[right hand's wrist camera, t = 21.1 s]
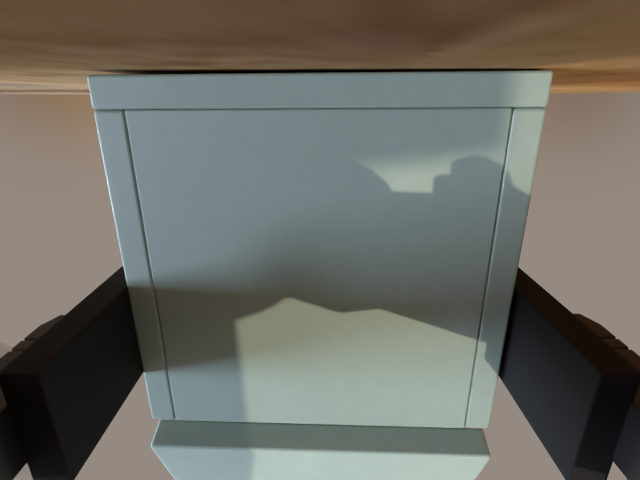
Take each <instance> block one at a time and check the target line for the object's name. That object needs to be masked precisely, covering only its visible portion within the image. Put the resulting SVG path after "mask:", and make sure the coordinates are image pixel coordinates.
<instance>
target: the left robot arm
mask: <svg viewBox="0 0 640 480" xmlns="http://www.w3.org/2000/svg"><path fill="white" fill-rule="evenodd" d="M13 347H14V346H11V345H9V344H6V343H4V342H1V341H0V358H1V357H2V356H4V355H5V354H6V353H7V352H8V351H12V348H13ZM13 480H33V478H32V475H31V472H30V469H29V467H28V465H27V463H26V464H25V466H24V467H23V468H22V469H21V471H20V472H19V473H18V474H17V476H16V477H15V478H14V479H13Z"/></svg>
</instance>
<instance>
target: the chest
mask: <svg viewBox="0 0 640 480" xmlns="http://www.w3.org/2000/svg"><path fill="white" fill-rule="evenodd" d="M552 77H553V72H552V71H550V70H536V71H432V72H327V73H222V74H117V75H89V76H87V81H88V86H89V91H90V96H91V101H92V106H93V108H94V109H96V111H95V112H94V116H95V121H96V126H97V131H98V137H99V142H100V147H101V152H102V158H103V163H104V168H105V173H106V178H107V184H108V189H109V194H110V199H111V205H112V210H113V215H114V220H115V225H116V231H117V236H118V241H119V246H120V252H121V257H122V262H123V267H124V272H125V278H126V283H127V287H128V293H129V298H130V303H131V309H132V314H133V319H134V325H135V330H136V335H137V340H138V346H139V351H140V356H141V361H142V366H143V372H144V377H145V382H146V387H147V392H148V398H149V403H150V408H151V413H152V418H153V419H175V418H176V420H192V421H228V422H264V423H300V424H336V425H371V426H407V427H443V428H464V425H465V427H468V428H488V427H489V426H490V420H491V415H492V409H493V403H494V398H495V392H496V387H497V381H498V376H499V370H500V365H501V359H502V353H503V348H504V342H505V337H506V331H507V326H508V320H509V314H510V309H511V303H512V298H513V292H514V287H515V281H516V275H517V270H518V264H519V259H520V253H521V247H522V242H523V236H524V231H525V225H526V220H527V214H528V209H529V203H530V197H531V192H532V186H533V181H534V175H535V170H536V164H537V158H538V153H539V147H540V142H541V136H542V131H543V125H544V119H545V114H546V110H545V109H544V108H542V107H546V106H547V104H548V99H549V94H550V88H551V82H552Z"/></svg>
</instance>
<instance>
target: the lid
mask: <svg viewBox="0 0 640 480" xmlns="http://www.w3.org/2000/svg"><path fill="white" fill-rule="evenodd" d="M151 448H152V449H153V451H154V452H155V454H156V455H157V456H158V457H159V459H160V460H161V461H162V463H163V464H164V466H165V467H166V468H167V470H168V471H169V472H170V474H171V475H172V476H173V477H174V479H175V480H475V479H476V478H477V476H478V475H479V473H480V472H481V470H482V469H483V468H484V466H485V465H486V463H487V462H488V460H489V459H490V453H489V449H488V445H487V442H486V438H485V434H484V431H483V430H482V429H471V428H435V427H400V426H364V425H328V424H292V423H256V422H220V421H184V420H160V421H159V423H158V426H157V429H156V432H155V435H154V437H153V440H152V443H151Z"/></svg>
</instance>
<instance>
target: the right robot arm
mask: <svg viewBox="0 0 640 480" xmlns="http://www.w3.org/2000/svg"><path fill="white" fill-rule="evenodd" d="M142 373H143V366H142V361H141V356H140V351H139V346H138V340H137V335H136V330H135V325H134V319H133V314H132V309H131V303H130V298H129V293H128V287H127V283H126V278H125V272H124V267H123V266H122V267H121V268H120V269H119V270H118V271H116V272H115V273H114V274H113V275H112V276H111V277H109V278H108V279H107V280H106V281H105V282H104V283H102V284H101V285H100V286H99V287H98V288H97V289H95V290H94V291H93V292H92V293H91V294H90V295H88V296H87V297H86V298H85V299H84V300H83V301H81V302H80V303H79V304H78V305H77V306H76V307H74V308H73V309H72V310H71V311H70V312H69V313H67V314H66V315H60V316H58V317H56V318H54V319H52V320H50V321H48V322H46V323H45V324H43V325H41V326H39V327H38V328H37V329H35V330H34V331H33V332H32V333H31V334H29V335H28V336H27V337H26V338H25V340H24V341H21V342H20V343H18V344H17V345H16V346H15V347H13V348H12V351H8V352H7V353H6V354H5V355H4V356H2V357H1V358H0V480H13V479H14V478H15V477H16V476H17V474H18V473H19V472H20V471H21V469H22V468H23V467H24V466H25V464H26V463H27V464H28V467H29V469H30V472H31V475H32V478H33V480H74V479H75V478H76V476H77V474H78V473H79V471H80V470H81V468H82V467H83V465H84V463H85V462H86V460H87V459H88V457H89V456H90V454H91V453H92V451H93V449H94V448H95V446H96V445H97V443H98V442H99V440H100V439H101V437H102V435H103V434H104V432H105V431H106V429H107V428H108V426H109V425H110V423H111V421H112V420H113V418H114V417H115V415H116V414H117V412H118V410H119V409H120V407H121V406H122V404H123V403H124V401H125V400H126V398H127V396H128V395H129V393H130V392H131V390H132V389H133V387H134V386H135V384H136V382H137V381H138V379H139V378H140V376H141V375H142ZM499 377H500V378H501V380H502V381H503V383H504V384H505V386H506V388H507V389H508V391H509V392H510V394H511V395H512V397H513V399H514V400H515V402H516V403H517V405H518V406H519V408H520V409H521V411H522V412H523V414H524V416H525V417H526V419H527V420H528V422H529V423H530V425H531V427H532V428H533V430H534V431H535V433H536V434H537V436H538V437H539V439H540V441H541V442H542V444H543V445H544V447H545V448H546V450H547V452H548V453H549V455H550V456H551V458H552V459H553V461H554V462H555V464H556V465H557V467H558V469H559V470H560V472H561V473H562V475H563V476H564V478H565V479H566V480H607V477H608V474H609V471H610V468H611V465H612V462H613V461H614V463H615V464H616V465H617V466H618V468H619V469H620V470H621V471H622V473H623V474H624V475H625V476H626V478H627V480H640V356H638V355H637V354H636V353H635V352H634V351H632V350H629V349H628V347H627V346H626V345H625V344H624V343H622V342H621V341H620V340H619V339H616V338H615V336H614V335H612V334H611V333H610V332H609V331H608V330H606V329H605V328H604V327H603V326H601V325H600V324H598V323H596V322H594V321H592V320H591V319H589V318H587V317H585V316H583V315H581V314H572V313H571V312H570V311H569V310H568V309H566V308H565V307H564V306H563V305H562V304H561V303H559V302H558V301H557V300H556V299H555V298H554V297H552V296H551V295H550V294H549V293H548V292H547V291H545V290H544V289H543V288H542V287H541V286H540V285H538V284H537V283H536V282H535V281H534V280H533V279H531V278H530V277H529V276H528V275H527V274H526V273H524V272H523V271H522V270H521V269H520V268H519V267H518V270H517V275H516V281H515V287H514V292H513V298H512V303H511V309H510V314H509V320H508V326H507V331H506V337H505V342H504V348H503V353H502V359H501V365H500V370H499Z"/></svg>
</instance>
